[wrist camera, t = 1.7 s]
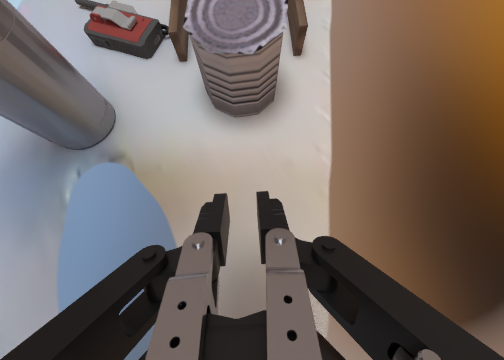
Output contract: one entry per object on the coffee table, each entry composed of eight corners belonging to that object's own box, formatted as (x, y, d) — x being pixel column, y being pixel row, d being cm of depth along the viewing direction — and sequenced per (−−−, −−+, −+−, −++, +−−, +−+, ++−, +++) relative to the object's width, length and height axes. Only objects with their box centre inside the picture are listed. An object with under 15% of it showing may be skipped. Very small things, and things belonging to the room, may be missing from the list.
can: (292, 87, 34) (311, 4, 22) (240, 131, 31) (233, 65, 20) (242, 49, 36) (237, -43, 25) (191, 87, 34) (159, 5, 22)
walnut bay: (177, 61, 35) (165, 32, 31) (182, -8, 41) (172, -42, 36) (303, 55, 35) (310, 25, 31) (291, -14, 41) (296, -48, 36)
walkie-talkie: (178, 28, 38) (84, 4, 40) (169, 1, 34) (65, -24, 36) (156, 64, 36) (57, 36, 38) (143, 40, 32) (33, 10, 34)
